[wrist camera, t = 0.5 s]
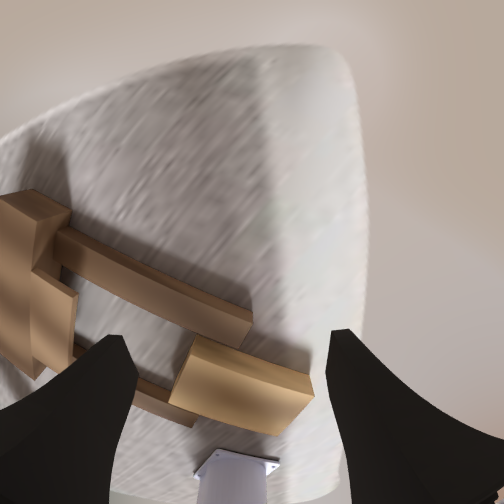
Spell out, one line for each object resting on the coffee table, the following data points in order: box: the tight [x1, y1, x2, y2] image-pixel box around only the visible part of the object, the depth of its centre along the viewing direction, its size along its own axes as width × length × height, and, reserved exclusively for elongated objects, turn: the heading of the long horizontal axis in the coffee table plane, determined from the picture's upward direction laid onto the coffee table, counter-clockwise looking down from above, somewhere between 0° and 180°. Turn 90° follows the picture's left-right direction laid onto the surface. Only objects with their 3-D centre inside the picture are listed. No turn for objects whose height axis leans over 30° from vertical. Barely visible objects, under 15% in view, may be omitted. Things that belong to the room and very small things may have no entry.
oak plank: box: [168, 334, 315, 436], centre depth 21 cm, size 6×10×3 cm, turn 64°
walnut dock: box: [0, 189, 253, 428], centre depth 18 cm, size 16×20×4 cm
